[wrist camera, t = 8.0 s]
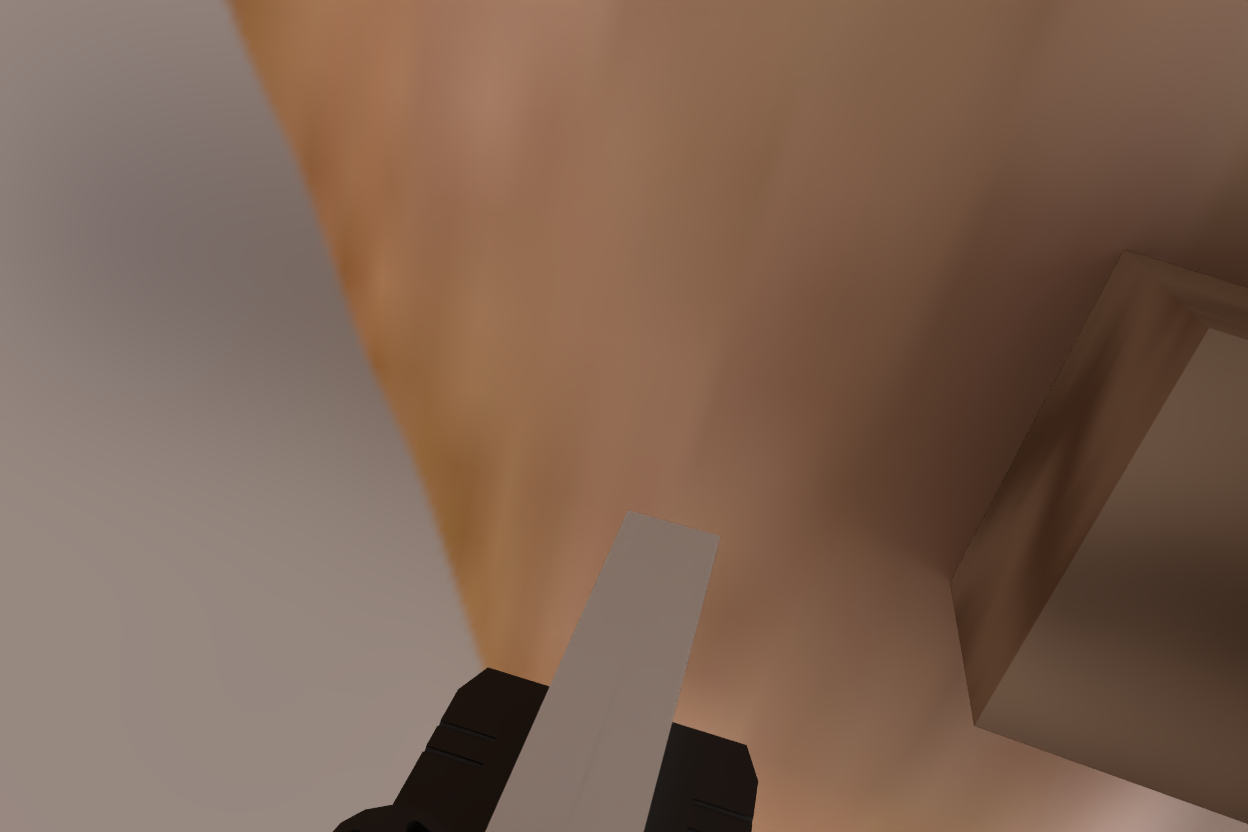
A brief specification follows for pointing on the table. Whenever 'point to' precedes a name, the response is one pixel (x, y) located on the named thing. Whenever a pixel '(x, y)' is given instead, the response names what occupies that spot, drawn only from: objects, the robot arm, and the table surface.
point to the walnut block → (1126, 549)
